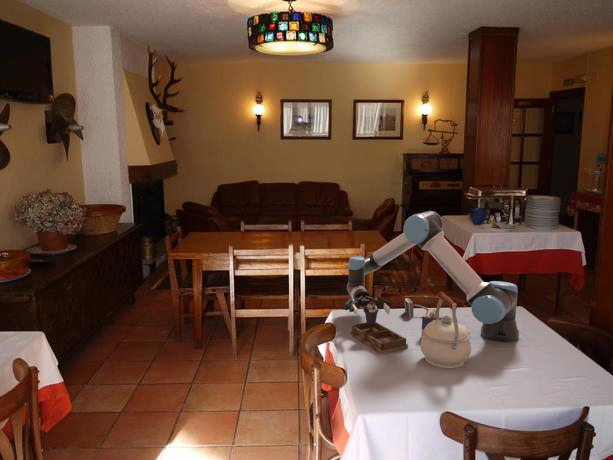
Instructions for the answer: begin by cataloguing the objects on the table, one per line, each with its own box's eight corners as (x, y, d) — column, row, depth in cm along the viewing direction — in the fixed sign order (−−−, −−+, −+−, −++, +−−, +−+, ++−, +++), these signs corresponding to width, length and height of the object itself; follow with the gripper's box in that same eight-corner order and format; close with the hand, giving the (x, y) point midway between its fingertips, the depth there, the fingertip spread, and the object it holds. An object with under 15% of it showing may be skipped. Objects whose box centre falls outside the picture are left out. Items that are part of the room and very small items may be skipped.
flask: (442, 335, 221) (443, 311, 219) (444, 338, 218) (445, 314, 216) (420, 335, 222) (421, 311, 220) (422, 338, 219) (423, 313, 217)
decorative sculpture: (438, 315, 247) (439, 300, 245) (436, 322, 238) (437, 307, 236) (404, 311, 252) (405, 297, 251) (401, 318, 243) (401, 303, 242)
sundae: (380, 330, 222) (380, 297, 220) (376, 336, 216) (377, 301, 213) (364, 329, 224) (365, 295, 222) (361, 334, 218) (361, 300, 216)
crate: (407, 347, 209) (408, 338, 208) (380, 354, 203) (381, 344, 202) (374, 329, 229) (375, 320, 228) (349, 334, 223) (349, 325, 222)
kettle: (479, 372, 187) (483, 306, 182) (429, 374, 186) (432, 307, 181) (455, 345, 211) (458, 285, 207) (410, 346, 210) (412, 286, 206)
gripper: (387, 303, 238) (401, 319, 218) (333, 305, 235) (342, 322, 214) (388, 287, 237) (402, 301, 216) (333, 289, 234) (343, 304, 213)
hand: (372, 312), depth 215 cm, fingers open, 13 cm apart
